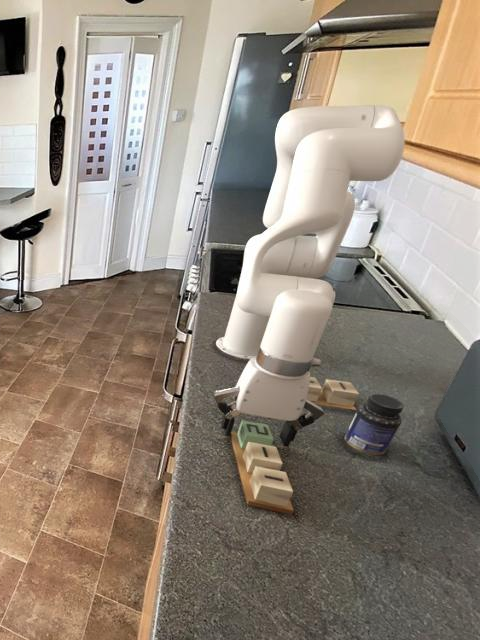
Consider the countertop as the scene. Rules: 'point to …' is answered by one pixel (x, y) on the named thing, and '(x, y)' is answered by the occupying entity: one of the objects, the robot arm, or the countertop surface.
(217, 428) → the countertop surface
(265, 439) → the green number cube
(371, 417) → the pill bottle
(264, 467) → the word
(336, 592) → the countertop surface
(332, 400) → the word
